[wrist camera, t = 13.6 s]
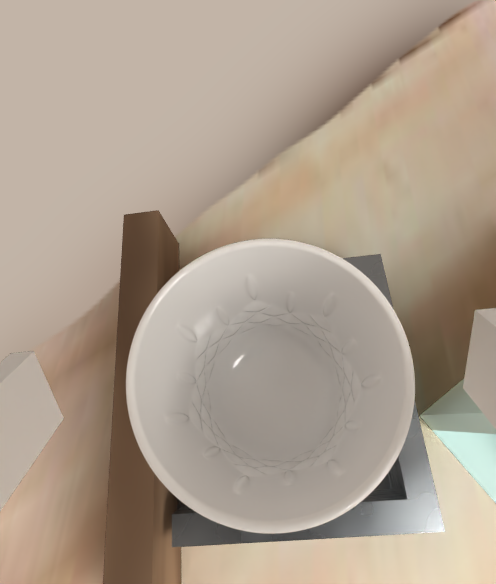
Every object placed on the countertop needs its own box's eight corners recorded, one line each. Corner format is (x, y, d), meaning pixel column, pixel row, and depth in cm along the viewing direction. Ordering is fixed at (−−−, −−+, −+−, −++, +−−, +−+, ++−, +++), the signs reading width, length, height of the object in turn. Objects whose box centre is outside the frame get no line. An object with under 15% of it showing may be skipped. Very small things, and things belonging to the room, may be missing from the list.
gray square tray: (367, 276, 21) (380, 254, 18) (418, 512, 17) (445, 531, 14) (179, 297, 22) (163, 278, 19) (180, 527, 18) (160, 547, 15)
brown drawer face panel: (178, 243, 23) (158, 210, 20) (181, 622, 16) (150, 681, 13) (149, 247, 24) (123, 214, 20) (140, 623, 17) (97, 682, 13)
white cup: (183, 355, 20) (95, 298, 11) (308, 300, 21) (327, 200, 11) (235, 501, 17) (176, 594, 8) (378, 435, 18) (481, 450, 8)
